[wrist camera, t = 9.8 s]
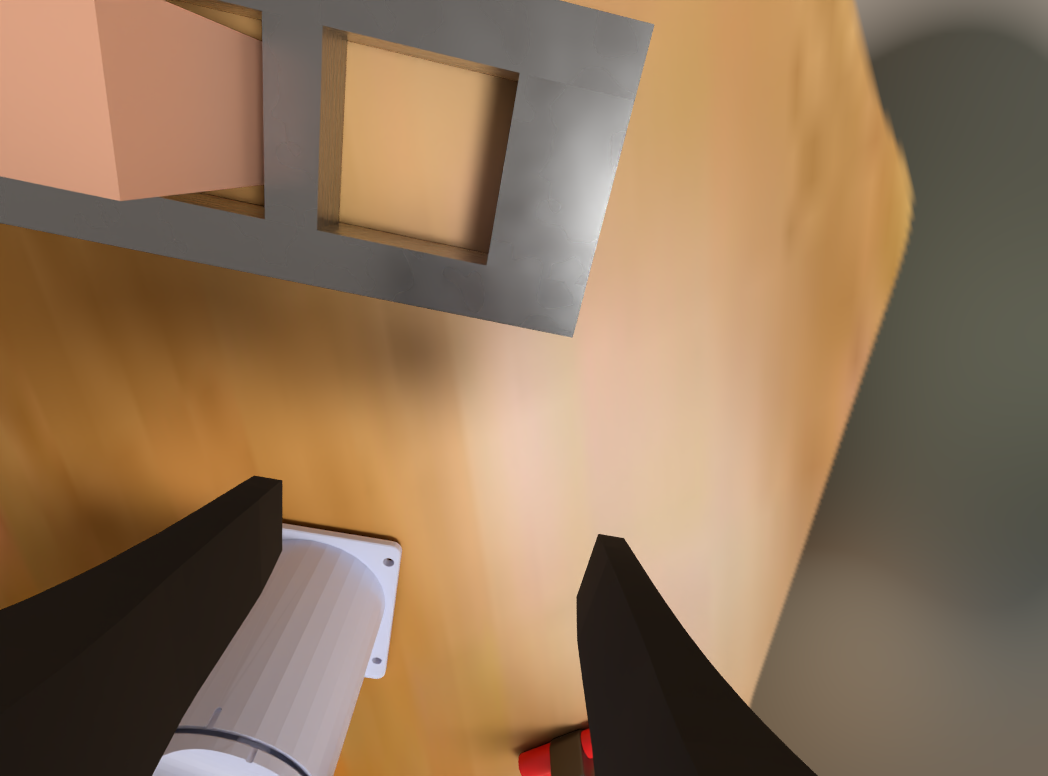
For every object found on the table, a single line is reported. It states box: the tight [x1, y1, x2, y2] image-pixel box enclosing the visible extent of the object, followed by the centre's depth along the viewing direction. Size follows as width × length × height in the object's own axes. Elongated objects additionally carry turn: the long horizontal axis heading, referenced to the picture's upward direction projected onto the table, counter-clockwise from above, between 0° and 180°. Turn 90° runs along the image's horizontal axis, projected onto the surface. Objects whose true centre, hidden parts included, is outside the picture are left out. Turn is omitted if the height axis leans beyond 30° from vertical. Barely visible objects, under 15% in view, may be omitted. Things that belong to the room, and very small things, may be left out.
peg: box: [0, 0, 264, 201], centre depth 13 cm, size 4×4×7 cm
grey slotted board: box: [0, 0, 654, 337], centre depth 15 cm, size 9×26×2 cm, turn 78°
